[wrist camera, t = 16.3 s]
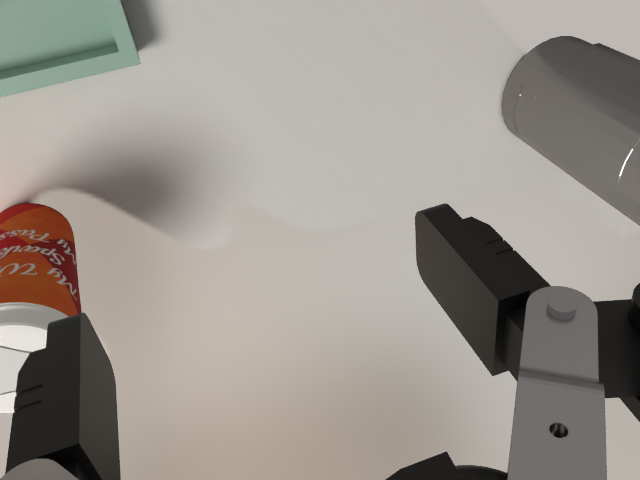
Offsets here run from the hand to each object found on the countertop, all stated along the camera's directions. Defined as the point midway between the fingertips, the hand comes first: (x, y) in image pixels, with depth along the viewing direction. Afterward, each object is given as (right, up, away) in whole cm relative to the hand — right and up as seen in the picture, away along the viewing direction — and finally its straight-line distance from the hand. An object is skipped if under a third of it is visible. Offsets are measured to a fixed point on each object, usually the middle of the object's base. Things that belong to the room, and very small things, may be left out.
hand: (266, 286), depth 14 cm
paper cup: (-20, +2, +30) cm, 36 cm away
